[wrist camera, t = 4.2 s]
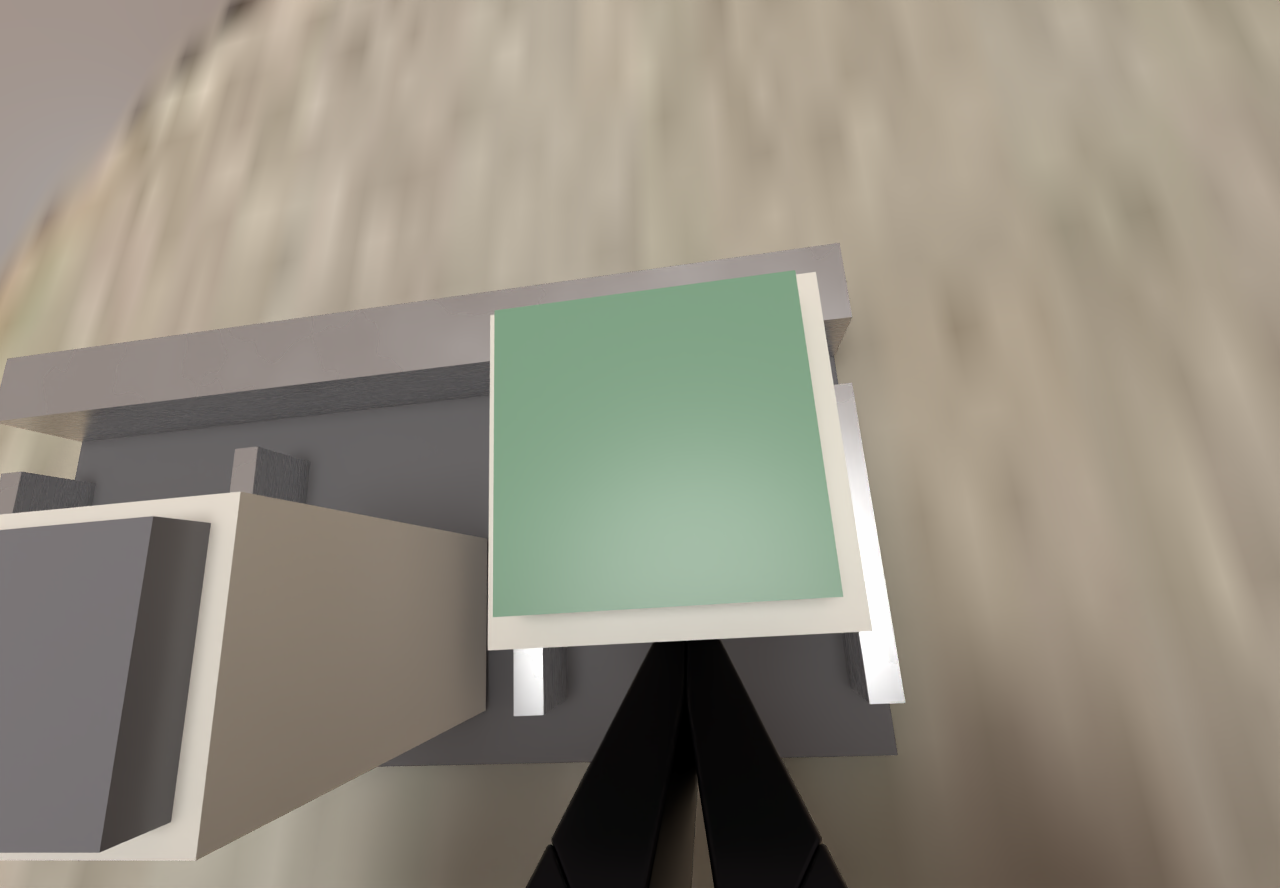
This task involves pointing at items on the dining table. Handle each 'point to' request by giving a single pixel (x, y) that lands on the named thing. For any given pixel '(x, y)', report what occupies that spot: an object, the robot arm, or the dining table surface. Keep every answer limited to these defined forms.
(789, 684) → the key mat
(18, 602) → the key
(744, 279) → the key
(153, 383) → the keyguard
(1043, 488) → the dining table surface
